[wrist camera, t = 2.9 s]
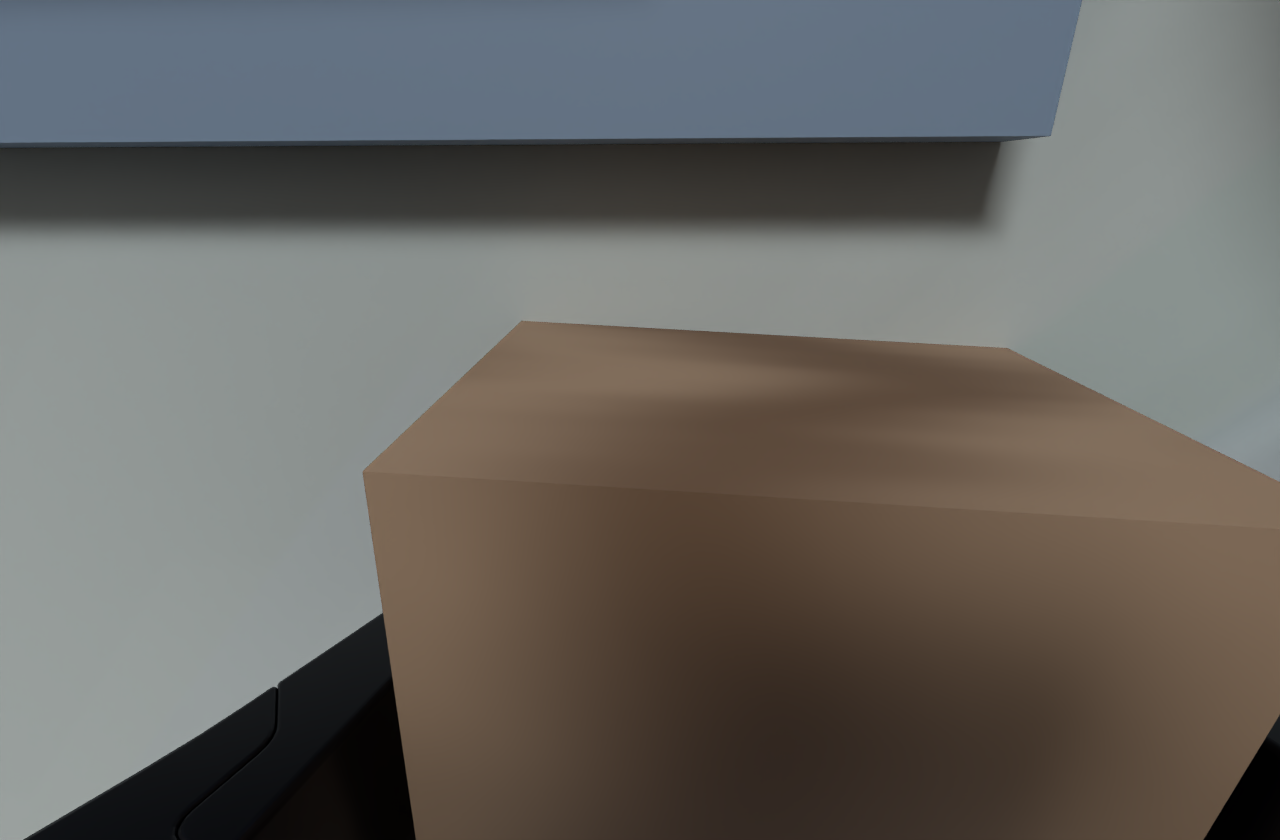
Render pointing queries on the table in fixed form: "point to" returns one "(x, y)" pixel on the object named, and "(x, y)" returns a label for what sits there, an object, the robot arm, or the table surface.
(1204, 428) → the table surface
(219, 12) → the blue-grey flat slab
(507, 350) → the walnut block
